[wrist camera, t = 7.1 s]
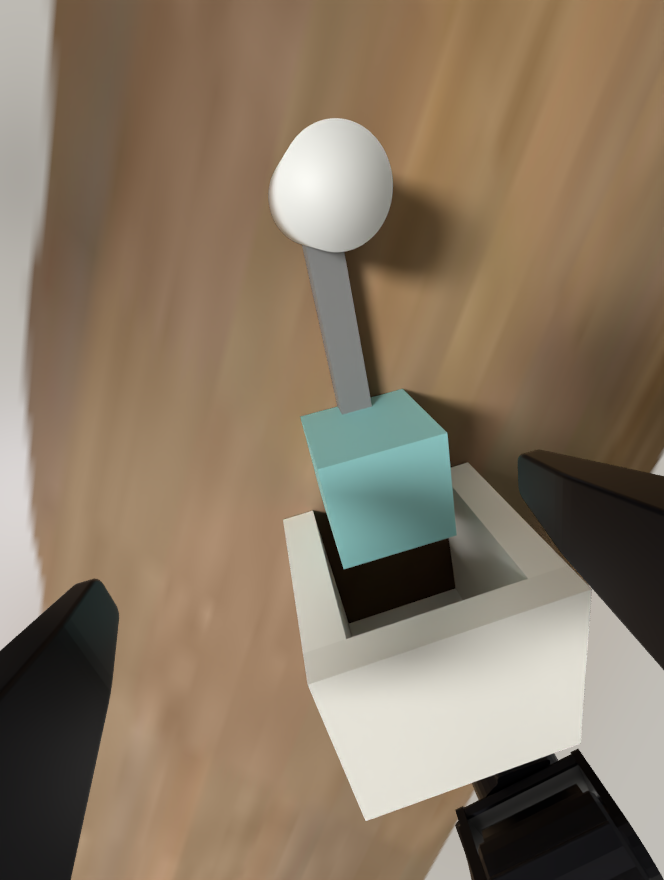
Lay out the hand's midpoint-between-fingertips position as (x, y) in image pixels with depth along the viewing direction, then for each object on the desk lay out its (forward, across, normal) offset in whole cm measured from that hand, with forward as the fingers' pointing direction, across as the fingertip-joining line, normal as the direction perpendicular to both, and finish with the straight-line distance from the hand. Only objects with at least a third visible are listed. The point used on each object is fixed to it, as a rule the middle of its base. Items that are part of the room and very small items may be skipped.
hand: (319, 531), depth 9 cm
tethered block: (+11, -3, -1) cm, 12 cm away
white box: (+12, -3, +12) cm, 17 cm away
